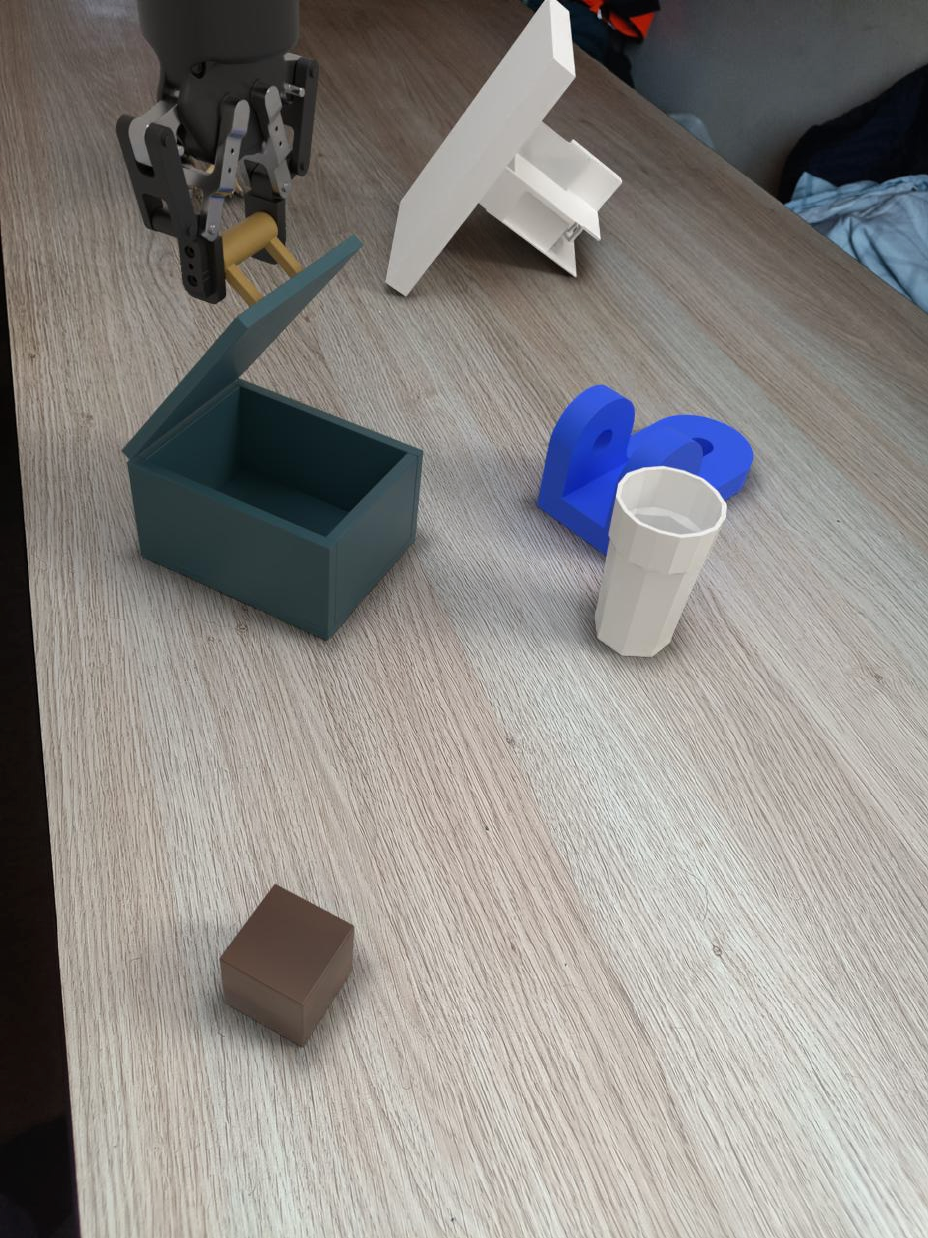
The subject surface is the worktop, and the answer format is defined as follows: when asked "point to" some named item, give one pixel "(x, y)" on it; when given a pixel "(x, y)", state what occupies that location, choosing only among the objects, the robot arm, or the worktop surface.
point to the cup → (654, 556)
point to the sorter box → (277, 504)
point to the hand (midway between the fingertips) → (237, 276)
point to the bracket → (628, 458)
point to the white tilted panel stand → (508, 162)
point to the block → (287, 964)
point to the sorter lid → (245, 321)
